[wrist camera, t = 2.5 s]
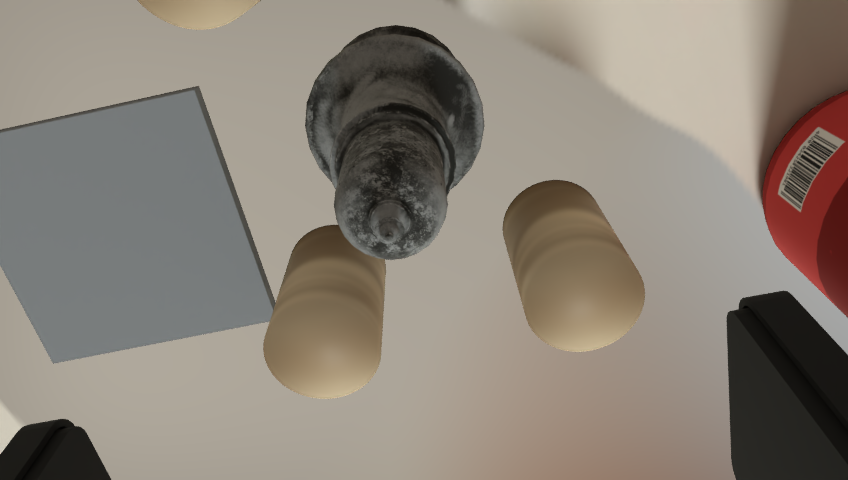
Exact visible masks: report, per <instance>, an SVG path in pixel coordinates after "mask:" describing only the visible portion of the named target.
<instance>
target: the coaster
mask: <svg viewBox="0 0 848 480" xmlns="http://www.w3.org/2000/svg"><path fill="white" fill-rule="evenodd" d="M0 266H1V267H2V269H3V271H4V273H5V275H6V277H7V279H8V280H9V282H10V284H11V286H12V288H13V290H14V292H15V294H16V295H17V297H18V299H19V301H20V303H21V305H22V306H23V308H24V310H25V312H26V314H27V316H28V318H29V320H30V321H31V323H32V325H33V327H34V329H35V331H36V333H37V334H38V336H39V338H40V340H41V342H42V344H43V346H44V347H45V349H46V351H47V353H48V355H49V356H50V359H51V361H52V362H53V363H58V362H64V361H68V360H74V359H79V358H84V357H89V356H94V355H100V354H104V353H110V352H115V351H120V350H125V349H130V348H135V347H140V346H146V345H151V344H156V343H161V342H166V341H171V340H177V339H182V338H187V337H192V336H197V335H202V334H207V333H212V332H218V331H223V330H228V329H233V328H238V327H243V326H249V325H253V324H258V323H264V322H269V321H270V319H271V316H272V313H273V310H274V307H275V304H276V303H275V300H274V297H273V294H272V292H271V289H270V286H269V283H268V280H267V277H266V275H265V272H264V269H263V266H262V263H261V261H260V258H259V255H258V252H257V249H256V247H255V244H254V241H253V238H252V235H251V232H250V229H249V227H248V224H247V221H246V218H245V215H244V213H243V210H242V207H241V204H240V201H239V198H238V196H237V193H236V190H235V187H234V184H233V182H232V179H231V176H230V173H229V170H228V168H227V165H226V162H225V159H224V156H223V153H222V150H221V147H220V145H219V142H218V139H217V136H216V133H215V131H214V128H213V125H212V122H211V119H210V116H209V114H208V111H207V108H206V105H205V102H204V99H203V97H202V94H201V91H200V88H199V86H196V87H192V88H187V89H183V90H179V91H174V92H169V93H165V94H161V95H156V96H151V97H147V98H142V99H138V100H134V101H129V102H124V103H119V104H116V105H111V106H106V107H101V108H97V109H92V110H88V111H83V112H79V113H74V114H70V115H65V116H61V117H56V118H52V119H48V120H42V121H38V122H34V123H29V124H25V125H20V126H15V127H11V128H6V129H2V130H0Z"/></svg>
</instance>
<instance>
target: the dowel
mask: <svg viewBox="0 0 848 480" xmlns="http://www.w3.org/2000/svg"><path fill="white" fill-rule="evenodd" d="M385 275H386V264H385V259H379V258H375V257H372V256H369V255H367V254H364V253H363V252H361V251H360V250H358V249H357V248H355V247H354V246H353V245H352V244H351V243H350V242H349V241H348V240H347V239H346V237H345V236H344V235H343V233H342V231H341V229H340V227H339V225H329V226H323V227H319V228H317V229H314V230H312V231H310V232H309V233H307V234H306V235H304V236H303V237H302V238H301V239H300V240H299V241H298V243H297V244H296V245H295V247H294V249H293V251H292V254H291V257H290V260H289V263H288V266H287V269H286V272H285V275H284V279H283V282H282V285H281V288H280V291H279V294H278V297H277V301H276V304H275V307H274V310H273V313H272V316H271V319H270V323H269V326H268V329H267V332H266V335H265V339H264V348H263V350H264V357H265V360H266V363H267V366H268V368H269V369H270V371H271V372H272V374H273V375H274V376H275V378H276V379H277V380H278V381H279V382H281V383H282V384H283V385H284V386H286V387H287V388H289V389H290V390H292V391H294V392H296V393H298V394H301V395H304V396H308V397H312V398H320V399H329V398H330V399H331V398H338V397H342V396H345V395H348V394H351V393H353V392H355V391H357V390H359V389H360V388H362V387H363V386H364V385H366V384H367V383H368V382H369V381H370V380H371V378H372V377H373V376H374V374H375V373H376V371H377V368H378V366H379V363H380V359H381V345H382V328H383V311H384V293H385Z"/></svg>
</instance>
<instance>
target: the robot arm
mask: <svg viewBox="0 0 848 480" xmlns="http://www.w3.org/2000/svg"><path fill="white" fill-rule="evenodd" d="M727 343H728V371H729V401H730V402H729V403H730V432H731V459H732V466H733V471H734V474H735V477H736V480H848V355H847V354H846V353H845V352H844V350H842V348H841V347H840V346H839V345H838V344H837V343H836V342H835V341H834V340H833V339H832V338H831V336H830V335H829V334H828V333H827V332H826V331H825V330H824V329H823V328H822V327H821V326H820V325H819V324H818V322H817V321H816V320H815V319H814V318H813V317H812V316H811V315H810V314H809V313H808V312H807V311H806V310H805V309H804V308H803V306H802V305H801V304H800V303H799V302H798V301H797V300H796V299H795V298H794V297H793V296H792V295H791V294H790V293H789V292H788V291H779V292H774V293H768V294H763V295H757V296H752V297H746V298H742V299H741V300H740V303H739V310H734V311H730V312H728V315H727ZM0 480H111V478H110V476H109V475H108V473H107V471H106V469H105V467H104V465H103V463H102V461H101V459H100V458H99V456H98V454H97V452H96V450H95V448H94V446H93V444H92V442H91V441H90V439H89V437H88V435H87V433H86V432H85V430H84V429H82V428H81V427H77V426H74V424H73V423H72V422H70V421H69V420H66V419H58V420H53V421H48V422H42V423H36V424H30V425H27V426H24V427H22V428H21V429H20V430H19V431H18V432H17V433H16V435H15V436H14V437H13V438H12V440H11V441H10V442H9V444H8V445H7V446H6V448H5V449H4V450H3V452H2V453H1V454H0Z"/></svg>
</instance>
